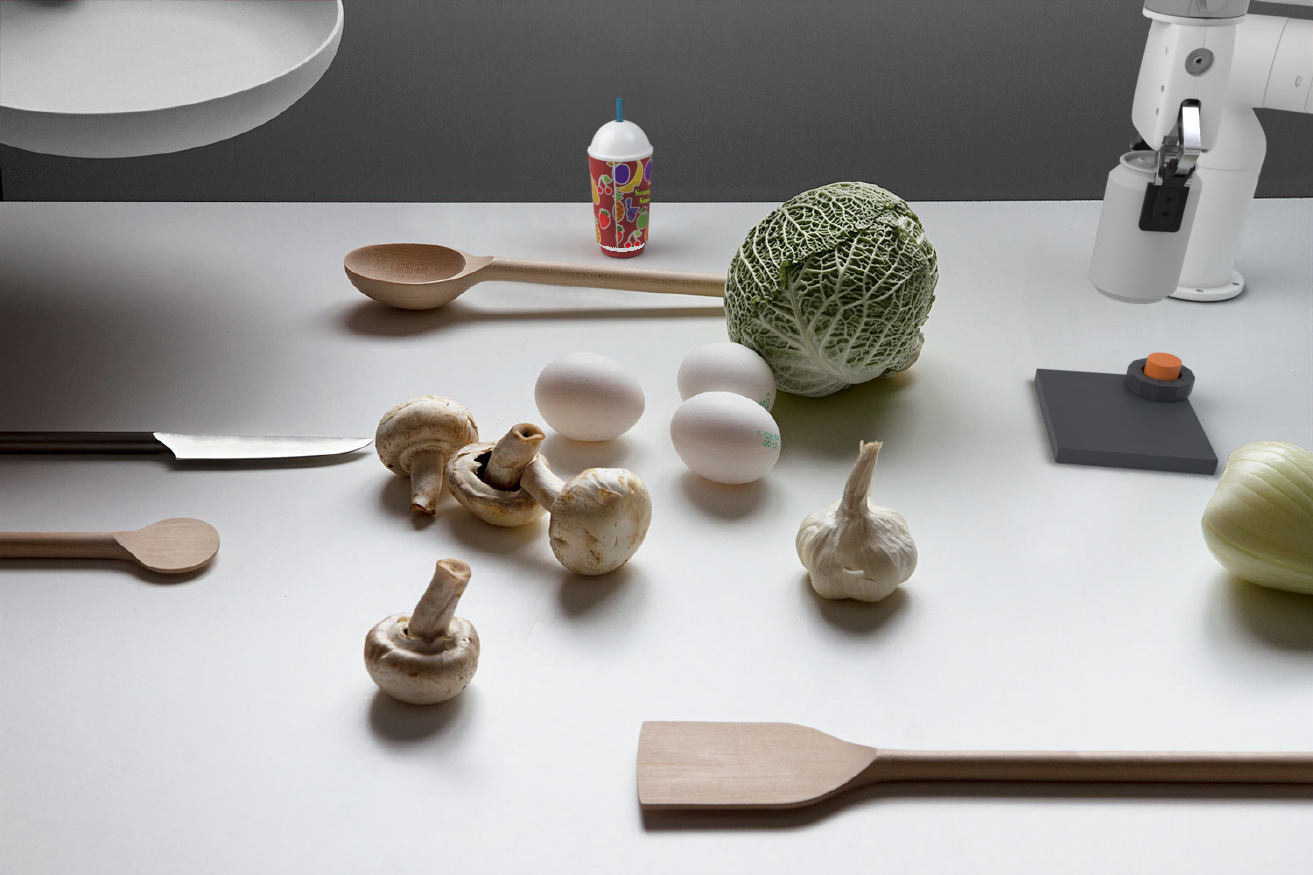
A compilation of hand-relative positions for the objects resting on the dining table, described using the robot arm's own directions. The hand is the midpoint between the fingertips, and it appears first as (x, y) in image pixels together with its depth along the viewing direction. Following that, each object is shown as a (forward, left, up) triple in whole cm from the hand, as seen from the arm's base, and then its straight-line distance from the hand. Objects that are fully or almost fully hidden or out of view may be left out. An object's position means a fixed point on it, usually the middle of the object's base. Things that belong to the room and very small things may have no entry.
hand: (1148, 212), depth 98 cm
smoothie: (-40, -54, -23) cm, 71 cm away
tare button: (-8, +7, -19) cm, 22 cm away
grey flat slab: (-2, +2, -23) cm, 23 cm away
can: (0, 0, -8) cm, 8 cm away
